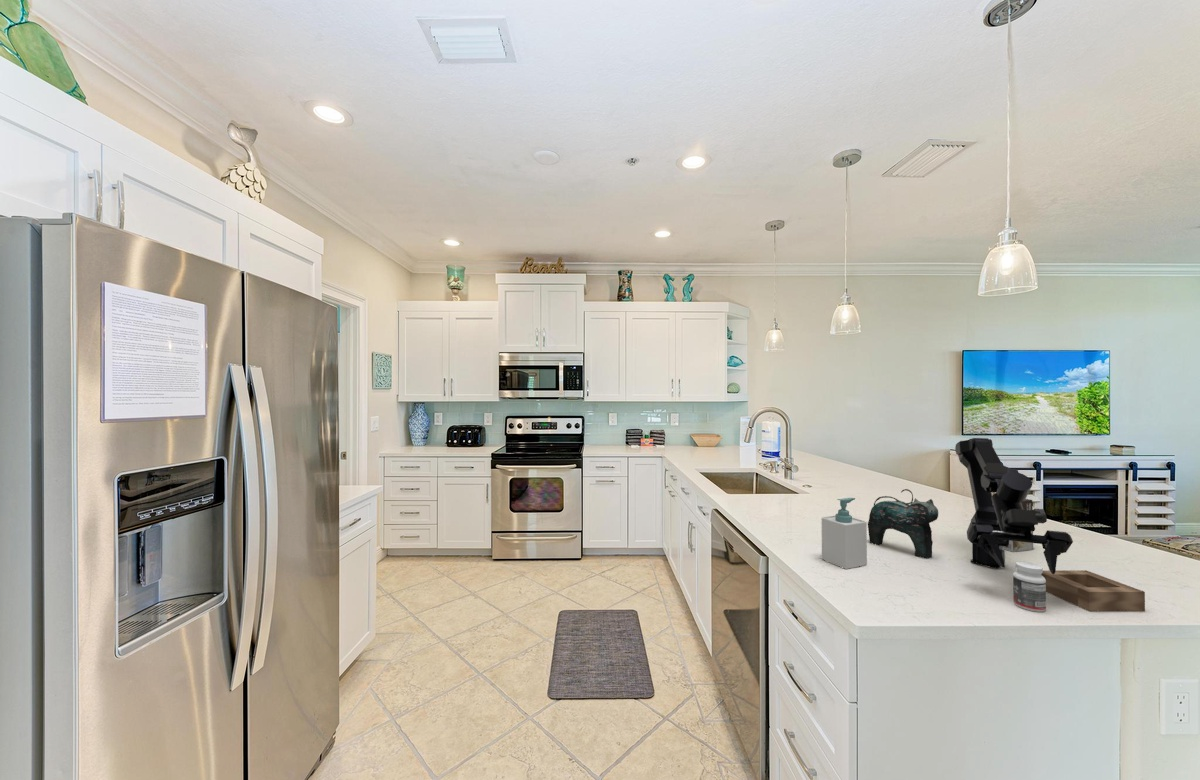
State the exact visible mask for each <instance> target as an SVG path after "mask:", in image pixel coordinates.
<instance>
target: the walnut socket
mask: <svg viewBox="0 0 1200 780" xmlns="http://www.w3.org/2000/svg"><path fill="white" fill-rule="evenodd" d="M1041 575H1042V576H1043V577H1044V578H1045V579H1046V594H1047V593H1048V594H1049V595H1051V596H1055V597H1057V598H1058V599H1061V600H1063V601H1065V602H1067V603H1069V604H1072V605H1074V606H1076V607H1078V606H1079V607H1078V608H1080V607H1081V609H1082V610H1085V609H1086V611H1087V610H1088V611H1087V612H1146V594H1145V593H1146V592H1145V591H1144V590H1141V589H1138V588H1135V587H1133V586H1131V585H1127V584H1124V583H1122V582H1119V581H1117V580H1114V579H1111V578H1108V577H1105V576H1103V575H1100V574H1098V573H1095V572H1093V571H1090V570H1084V569H1083V570H1072V569H1071V570H1065V569H1064V570H1056V572H1055V574H1052V573H1051V572H1050V570H1043V573H1042V574H1041Z"/></svg>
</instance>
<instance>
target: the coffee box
mask: <svg viewBox="0 0 1200 780" xmlns="http://www.w3.org/2000/svg"><path fill="white" fill-rule="evenodd" d="M1021 504H1022V507H1023V510H1034V508H1033V499H1028V498H1026V499H1025V501H1023V502H1021ZM1031 533H1032V535H1034V531H1031ZM1002 550H1004V551H1007V550H1008V552H1011V553H1015V552H1016V553H1017V552H1025V551H1030V550H1031V551H1032V550H1034V543H1027V542H1017V541H1011V540H1009V544H1008V547H1005V546H1002Z"/></svg>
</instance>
